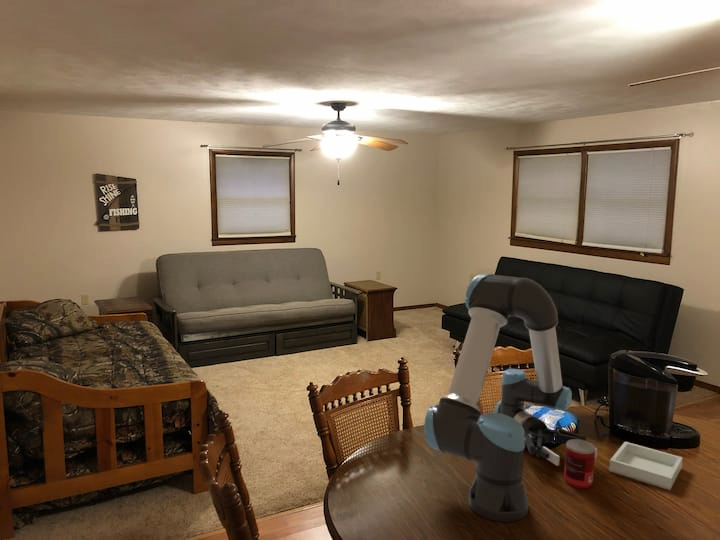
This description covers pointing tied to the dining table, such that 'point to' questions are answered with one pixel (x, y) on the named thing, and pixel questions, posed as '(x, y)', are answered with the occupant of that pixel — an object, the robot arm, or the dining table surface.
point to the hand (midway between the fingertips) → (577, 457)
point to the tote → (646, 465)
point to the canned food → (579, 463)
